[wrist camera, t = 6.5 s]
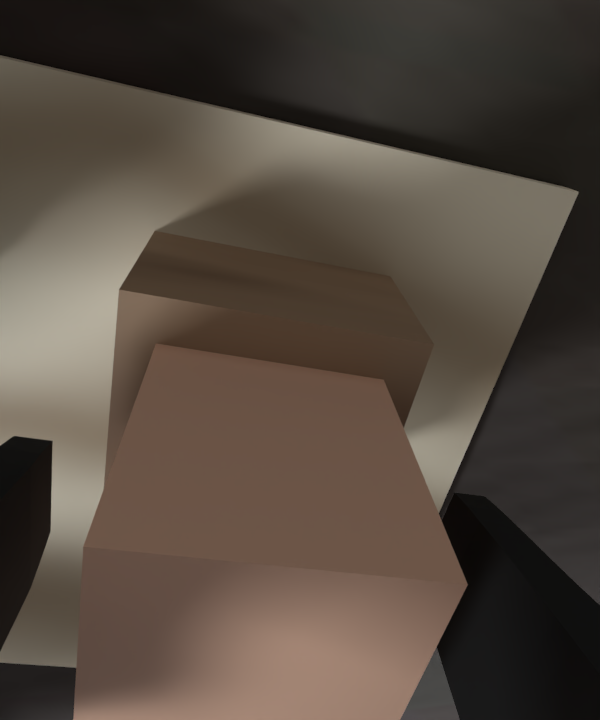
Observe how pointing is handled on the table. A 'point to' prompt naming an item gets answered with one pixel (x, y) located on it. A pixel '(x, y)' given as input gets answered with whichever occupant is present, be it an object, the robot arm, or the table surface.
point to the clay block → (260, 551)
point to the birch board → (236, 228)
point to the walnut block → (261, 319)
